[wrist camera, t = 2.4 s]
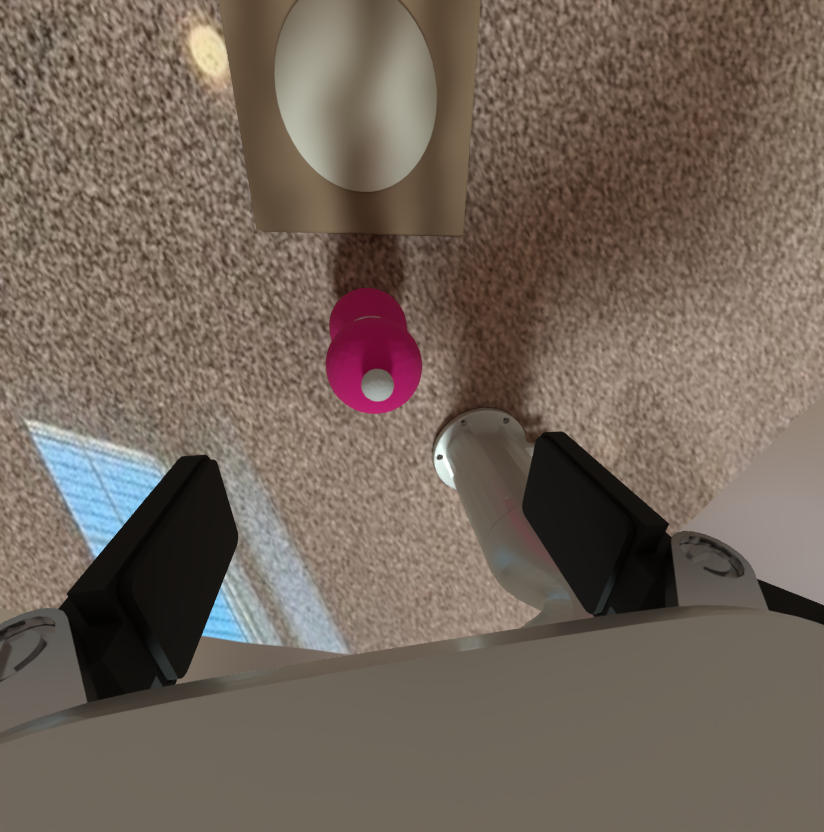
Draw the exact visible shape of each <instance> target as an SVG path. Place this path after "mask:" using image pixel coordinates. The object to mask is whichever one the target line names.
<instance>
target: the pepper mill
mask: <svg viewBox="0 0 824 832" xmlns="http://www.w3.org/2000/svg"><path fill="white" fill-rule="evenodd" d="M329 329H330V336H331V340H332V342H331V344H330V346H329V348H328V352H327V356H326V372H327V378H328V380H329V383H330V386H331V387H332V389H333V391H334V393H335V394H336V395H337V397H338V398H339V399H340V400H341V401H343V402H344V403H345V404H346V405H348V406H349V407H351V408H353V409H355V410H357V411H360V412H364V413H372V414H379V413H386V412H389V411H392V410H394V409H396V408H398V407H400V406H402V405H403V404H404V403H405V402H407V401H408V400H409V399H410V397H411V396H412V395H413V394H414V392H415V390H416V388H417V386H418V384H419V382H420V378H421V373H422V360H421V355H420V351H419V348H418V346H417V344H416V342H415V340H414V338H413V337H412V336H411V335H410V334H409V332H408V331H407V323H406V318H405V315H404V312H403V310H402V308H401V307H400V305H399V304H398V302H397V301H396V300H395V299H394V298H393V297H391V296H390V295H389V294H387V293H385V292H383V291H381V290H378V289H374V288H360V289H356V290H353V291H351V292H349V293H347V294H345V295H344V296H343V297H342V298H341V299H340V300H339V301H338V302H337V303H336V305H335V306H334V308H333V310H332V313H331V316H330V323H329Z"/></svg>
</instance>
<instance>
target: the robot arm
mask: <svg viewBox="0 0 824 832" xmlns="http://www.w3.org/2000/svg"><path fill="white" fill-rule="evenodd" d="M462 420H463V421H462ZM532 455H533V456H532ZM432 457H433V464H434V467H435V470H436V472H437V474H438V476H439V477H440V479H441V480H442V481H443V482H444V483H445V484H447V485H448V486H449V487H451V488H453V489H455V490H457V492H458V494H459V497H460V499H461V501H462V504H463V506H464V509H465V511H466V513H467V516H468V518H469V520H470V523H471V525H472V527H473V530H474V532H475V535H476V537H477V539H478V542H479V544H480V546H481V549H482V551H483V554H484V556H485V558H486V561H487V563H488V565H489V568H490V570H491V572H492V573H493V575H494V577H495V578H496V580H497V581H498V583H499V584H500V585H501V586H502V587H503V588H504V589H505V590H506V591H507V592H509V593H510V594H511V595H513V596H514V597H515V598H517V599H519V600H520V601H522V602H524V603H526V604H528V605H530V606H532V607H534V608H536V609H538V610H540V611H542V612H541V613H540V614H539V615H538V616H536V617H535V618H533V619H532V620H530V621H529V622H527V623H526V624H525V625H524V626H522V627H521V628H519V629H513V630H507V631H500V632H494V633H487V634H481V635H475V636H468V637H462V638H456V639H449V640H443V641H436V642H430V643H424V644H417V645H411V646H405V647H398V648H392V649H386V650H379V651H373V652H367V653H361V654H354V655H348V656H342V657H336V658H330V659H324V660H318V661H312V662H305V663H299V664H293V665H287V666H281V667H275V668H269V669H262V670H256V671H250V672H244V673H238V674H232V675H226V676H221V677H215V678H209V679H204V680H198V681H194V682H188V683H182V684H176V681H177V679H180V678H183V677H184V676H185V674H186V672H187V670H188V668H189V666H190V663H191V661H192V658H193V656H194V653H195V650H196V648H197V646H198V643H199V640H200V638H201V635H202V633H203V630H204V628H205V625H206V623H207V620H208V618H209V615H210V613H211V610H212V607H213V605H214V602H215V600H216V597H217V595H218V592H219V590H220V587H221V585H222V582H223V579H224V577H225V574H226V572H227V569H228V567H229V564H230V562H231V559H232V557H233V554H234V552H235V549H236V546H237V543H238V531H237V528H236V524H235V521H234V518H233V514H232V511H231V507H230V504H229V501H228V497H227V494H226V491H225V487H224V484H223V480H222V477H221V474H220V470H219V467H218V464H217V462H216V460H210V458H209V457H208V456H207V455H194V456H182V457H180V458H179V459H178V460H177V462H176V463H175V464H174V465H173V466H172V468H171V469H170V470H169V471H168V472H167V474H166V475H165V476H164V477H163V478H162V480H161V481H160V482H159V483H158V485H157V486H156V487H155V488H154V489H153V491H152V492H151V493H150V494H149V495H148V497H147V498H146V499H145V500H144V501H143V503H142V504H141V505H140V506H139V507H138V509H137V510H136V511H135V512H134V513H133V515H132V516H131V517H130V518H129V519H128V521H127V522H126V523H125V524H124V525H123V527H122V528H121V529H120V530H119V531H118V533H117V534H116V535H115V536H114V537H113V539H112V540H111V541H110V542H109V543H108V545H107V546H106V547H105V548H104V549H103V551H102V552H101V553H100V554H99V555H98V557H97V558H96V559H95V560H94V561H93V563H92V564H91V565H90V566H89V567H88V569H87V570H86V571H85V572H84V573H83V575H82V576H81V577H80V578H79V579H78V581H77V582H76V583H75V584H74V586H73V587H72V588H71V589H70V590H69V592H68V593H67V595H68V598H67V599H66V600H65V601H64V603H63V604H62V605H61V606H60V608H59V609H55V608H45V609H37V610H34V611H30V612H26V613H23V614H21V615H18V616H16V617H14V618H11V619H9V620H7V621H5V622H3V623H1V624H0V832H824V605H822V604H819V603H817V602H814V601H812V600H809V599H806V598H804V597H802V596H799V595H797V594H794V593H791V592H789V591H786V590H784V589H781V588H779V587H776V586H774V585H771V584H769V583H766V582H764V581H761V580H759V579H757V578H756V575H755V573H754V571H753V569H752V567H751V565H750V564H749V562H748V561H747V560H746V559H745V558H744V557H743V556H742V555H741V554H740V553H738V552H737V551H736V550H734V549H733V548H731V547H730V546H729V545H727V544H725V543H723V542H721V541H720V540H718V539H715V538H713V537H710V536H707V535H705V534H701V533H697V532H692V531H682V532H677V533H675V534H674V535H673V536H672V537H671V536H669V535H668V534H667V533H666V532H665V531H666V529H667V527H668V525H669V523H668V522H666V521H665V520H664V519H663V518H662V517H661V516H660V515H658V514H657V513H656V512H655V511H654V510H653V509H652V508H650V507H649V506H648V505H647V504H646V503H645V502H644V501H642V500H641V499H640V498H639V497H638V496H637V495H635V494H634V493H633V492H632V491H631V490H630V489H629V488H627V487H626V486H625V485H624V484H623V483H622V482H621V481H619V480H618V479H617V478H616V477H615V476H614V475H613V474H611V473H610V472H609V471H608V470H607V469H606V468H605V467H603V466H602V465H601V464H600V463H599V462H598V461H596V460H595V459H594V458H593V457H592V456H591V455H590V454H588V453H587V452H586V451H585V450H584V449H583V448H582V447H580V446H579V445H578V444H577V443H576V442H575V441H574V440H572V439H571V438H570V437H569V436H568V435H567V434H566V433H564V432H545V433H543V434H542V435H541V437H539V438H537V440H536V442H535V445H531V444H530V443H528V442H527V441H526V436H525V432H524V430H523V428H522V426H521V425H520V424H519V422H518V421H517V420H516V419H515V418H514V417H513V416H511V415H510V414H508V413H507V412H505V411H502V410H499V409H495V408H478V409H473V410H469V411H467V412H465V413H462V414H460V415H459V416H457V417H455V418H454V419H452V420H451V421H450V422H449V423H448V424H447V425H446V426H445V427H444V428H443V429H442V430H441V432H440V433H439V435H438V437H437V439H436V441H435V444H434V447H433V454H432ZM175 684H176V685H175Z"/></svg>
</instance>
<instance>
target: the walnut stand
mask: <svg viewBox="0 0 824 832" xmlns="http://www.w3.org/2000/svg"><path fill="white" fill-rule="evenodd" d="M480 4H481V0H219V6H220V12H221V18H222V24H223V30H224V36H225V42H226V48H227V54H228V61H229V67H230V73H231V79H232V85H233V91H234V97H235V103H236V109H237V115H238V121H239V127H240V133H241V139H242V145H243V151H244V157H245V163H246V169H247V175H248V181H249V187H250V193H251V199H252V205H253V211H254V217H255V223H256V229H257V230H259V231H264V232H301V233H339V234H376V235H414V236H451V237H457V236H463V231H464V217H465V204H466V191H467V177H468V164H469V151H470V137H471V124H472V111H473V97H474V84H475V71H476V57H477V44H478V31H479V17H480Z"/></svg>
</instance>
